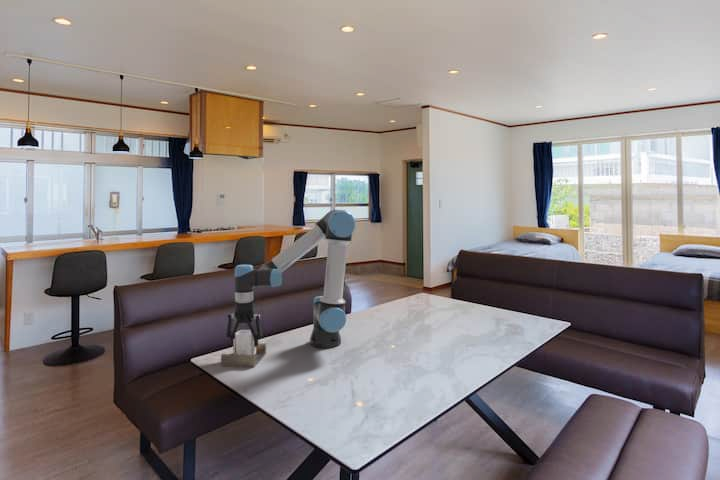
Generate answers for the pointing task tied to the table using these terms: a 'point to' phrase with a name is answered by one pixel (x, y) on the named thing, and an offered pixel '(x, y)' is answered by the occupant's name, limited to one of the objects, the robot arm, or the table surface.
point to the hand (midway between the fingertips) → (244, 353)
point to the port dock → (244, 358)
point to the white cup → (243, 342)
